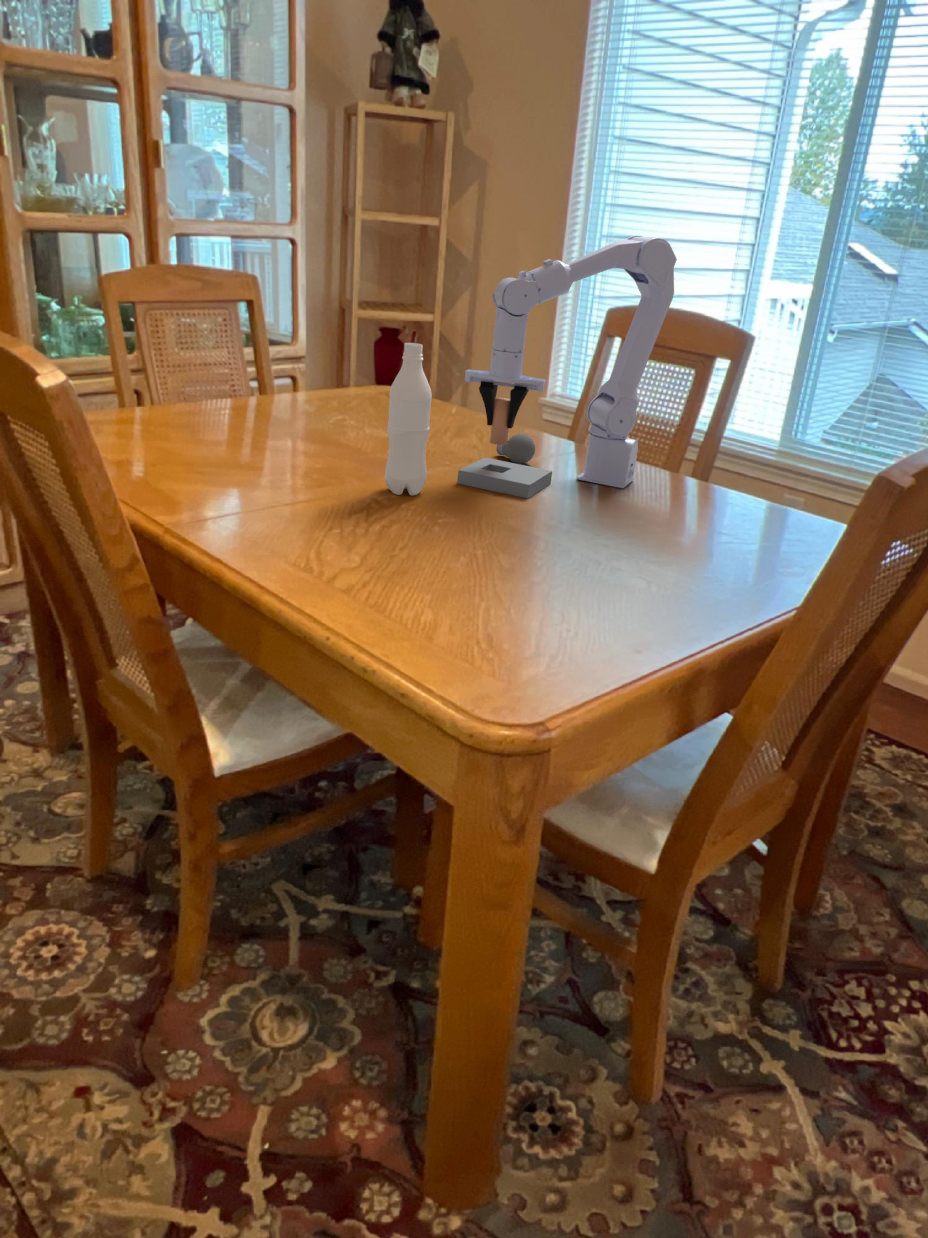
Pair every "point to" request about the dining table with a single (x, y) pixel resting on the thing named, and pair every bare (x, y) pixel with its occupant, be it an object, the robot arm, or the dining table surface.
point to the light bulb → (518, 448)
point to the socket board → (505, 477)
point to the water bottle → (408, 424)
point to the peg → (500, 421)
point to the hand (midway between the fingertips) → (500, 425)
